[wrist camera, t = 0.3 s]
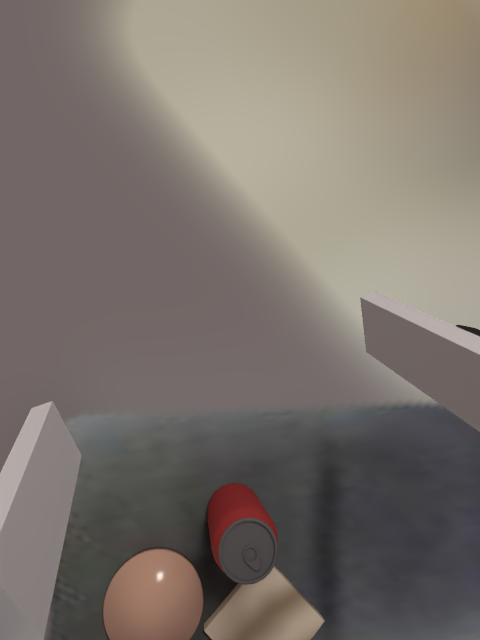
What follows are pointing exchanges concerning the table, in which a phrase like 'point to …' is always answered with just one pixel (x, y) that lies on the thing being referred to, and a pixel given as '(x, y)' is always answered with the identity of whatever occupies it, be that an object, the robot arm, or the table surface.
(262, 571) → the beer can
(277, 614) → the square tan board
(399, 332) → the robot arm
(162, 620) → the coaster
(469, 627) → the table surface
